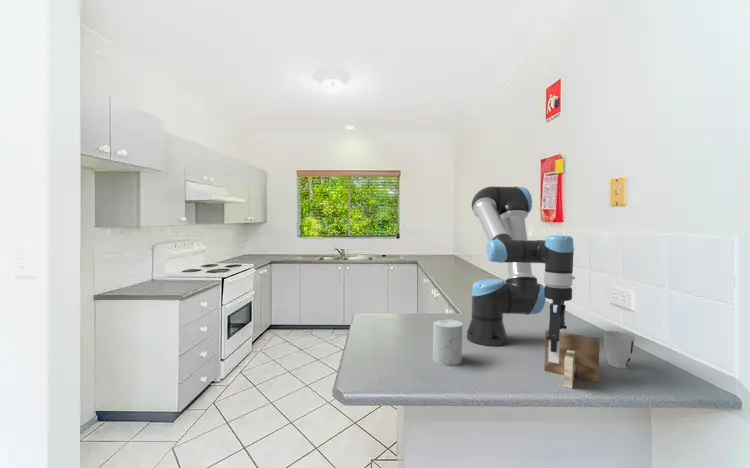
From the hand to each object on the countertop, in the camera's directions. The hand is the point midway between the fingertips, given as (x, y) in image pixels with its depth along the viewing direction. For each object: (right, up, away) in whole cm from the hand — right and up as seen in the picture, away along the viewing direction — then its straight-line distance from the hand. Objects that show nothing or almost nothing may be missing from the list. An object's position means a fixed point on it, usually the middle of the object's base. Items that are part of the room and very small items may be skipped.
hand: (556, 355), depth 104 cm
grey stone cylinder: (-32, -5, +8) cm, 33 cm away
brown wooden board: (+3, -5, -2) cm, 6 cm away
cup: (+23, -5, +5) cm, 24 cm away
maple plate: (+3, -5, -2) cm, 6 cm away
